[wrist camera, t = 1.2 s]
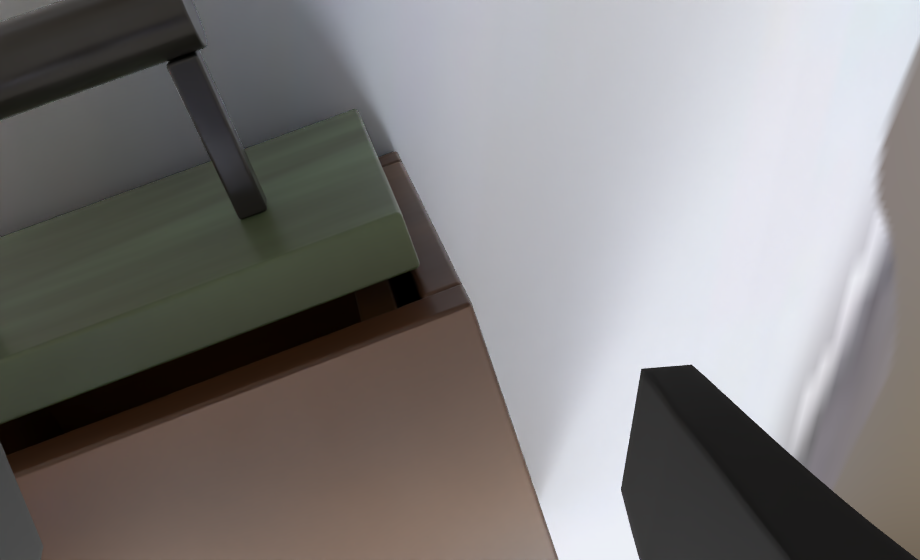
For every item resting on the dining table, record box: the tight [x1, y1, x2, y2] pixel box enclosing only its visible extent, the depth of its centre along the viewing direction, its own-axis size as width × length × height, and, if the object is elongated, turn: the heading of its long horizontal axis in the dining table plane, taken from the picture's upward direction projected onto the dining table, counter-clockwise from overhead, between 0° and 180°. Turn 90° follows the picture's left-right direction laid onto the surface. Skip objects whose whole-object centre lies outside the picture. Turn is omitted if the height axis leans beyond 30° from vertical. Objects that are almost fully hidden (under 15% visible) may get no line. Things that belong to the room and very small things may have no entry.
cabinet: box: [6, 151, 558, 560], centre depth 22 cm, size 15×13×9 cm
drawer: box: [0, 0, 420, 456], centre depth 20 cm, size 18×11×7 cm, turn 17°
